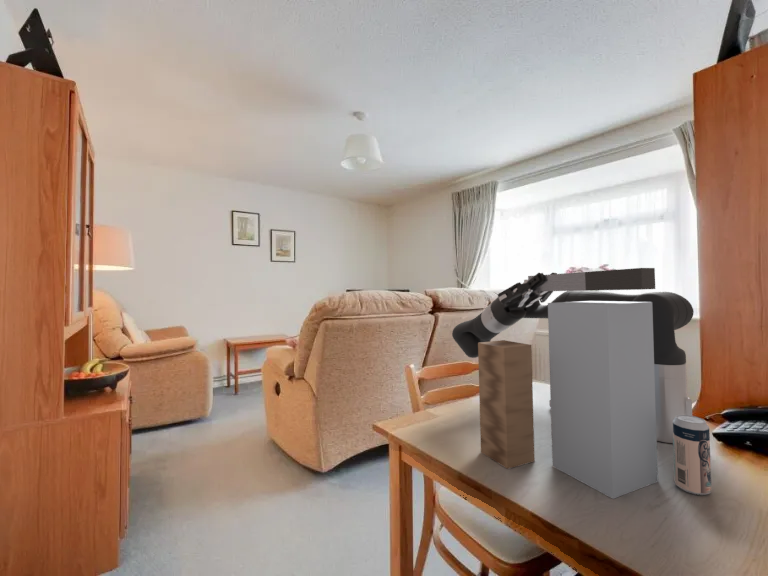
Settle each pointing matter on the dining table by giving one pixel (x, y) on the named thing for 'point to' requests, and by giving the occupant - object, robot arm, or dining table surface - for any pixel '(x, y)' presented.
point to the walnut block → (506, 402)
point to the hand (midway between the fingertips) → (549, 276)
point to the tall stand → (603, 394)
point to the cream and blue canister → (692, 454)
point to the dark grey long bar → (600, 280)
